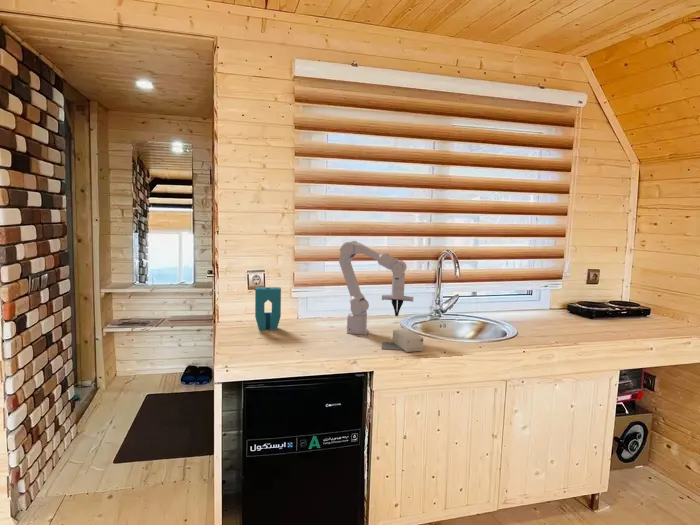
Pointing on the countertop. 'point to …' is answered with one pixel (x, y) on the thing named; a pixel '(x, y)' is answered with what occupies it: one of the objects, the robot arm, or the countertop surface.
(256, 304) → the block
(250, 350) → the countertop surface
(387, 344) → the mat
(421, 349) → the skincare box
